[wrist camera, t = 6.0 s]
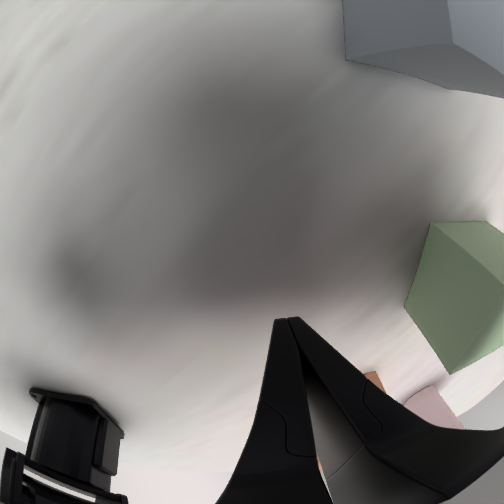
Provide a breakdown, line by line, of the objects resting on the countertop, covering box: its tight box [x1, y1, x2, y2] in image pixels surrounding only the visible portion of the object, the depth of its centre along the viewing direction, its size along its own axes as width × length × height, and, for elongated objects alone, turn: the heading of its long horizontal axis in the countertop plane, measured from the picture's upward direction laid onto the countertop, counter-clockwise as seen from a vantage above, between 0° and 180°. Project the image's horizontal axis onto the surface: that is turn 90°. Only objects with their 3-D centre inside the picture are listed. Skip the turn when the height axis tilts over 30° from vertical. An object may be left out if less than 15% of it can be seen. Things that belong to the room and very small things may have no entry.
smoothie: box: [404, 386, 465, 429], centre depth 15 cm, size 6×6×14 cm
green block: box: [404, 221, 504, 375], centre depth 10 cm, size 5×5×5 cm
